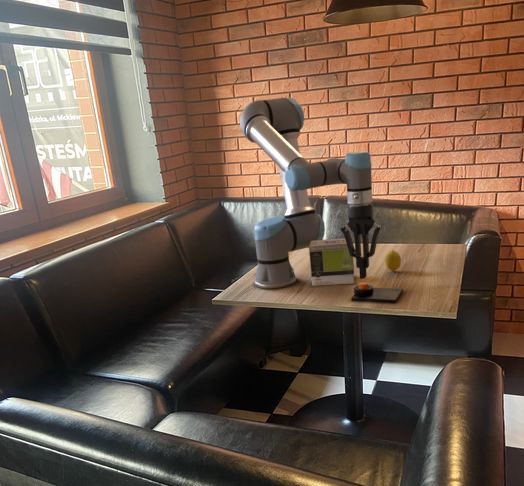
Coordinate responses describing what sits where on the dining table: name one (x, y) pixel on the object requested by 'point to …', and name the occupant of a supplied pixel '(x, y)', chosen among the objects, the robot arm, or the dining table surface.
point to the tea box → (331, 262)
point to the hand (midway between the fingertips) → (363, 277)
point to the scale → (376, 294)
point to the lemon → (393, 260)
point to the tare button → (363, 285)
